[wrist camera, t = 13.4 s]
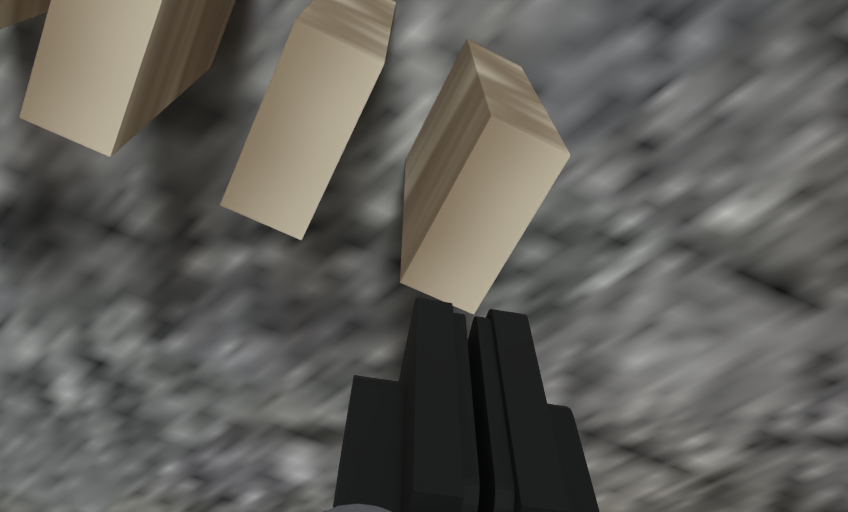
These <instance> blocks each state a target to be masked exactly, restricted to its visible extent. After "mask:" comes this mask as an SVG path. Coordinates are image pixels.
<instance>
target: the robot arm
mask: <svg viewBox="0 0 848 512" xmlns="http://www.w3.org/2000/svg"><path fill="white" fill-rule="evenodd" d="M324 512H599V508H598V504H597V501H596V497H595V493H594V490H593V486H592V482H591V479H590V475H589V471H588V467H587V464H586V460H585V456H584V453H583V449H582V445H581V441H580V438H579V434H578V430H577V427H576V423H575V419H574V416H573V413H572V411H571V409H570V408H568V407H566V406H560V405H553V404H547V401H546V396H545V392H544V388H543V383H542V379H541V374H540V370H539V366H538V361H537V357H536V352H535V348H534V343H533V339H532V335H531V330H530V326H529V321H528V318H527V315H525V314H519V313H513V312H506V311H500V310H494V309H490V310H489V311H488V314H487V316H486V318H484V317H477V316H475V317H474V319H473V322H472V326H471V330H470V334H469V338H468V342H467V330H466V319H465V315H464V314H458V313H453V304H452V303H449V302H443V301H436V300H430V299H423V298H416V300H415V304H414V308H413V313H412V318H411V323H410V328H409V333H408V338H407V343H406V348H405V353H404V358H403V363H402V368H401V373H400V378H399V382H397V381H390V380H384V379H377V378H370V377H363V376H357V375H354V378H353V384H352V389H351V395H350V401H349V407H348V413H347V419H346V425H345V432H344V438H343V444H342V451H341V457H340V463H339V470H338V477H337V483H336V490H335V497H334V504H333V508H332V509H329V510H327V511H324Z"/></svg>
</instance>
